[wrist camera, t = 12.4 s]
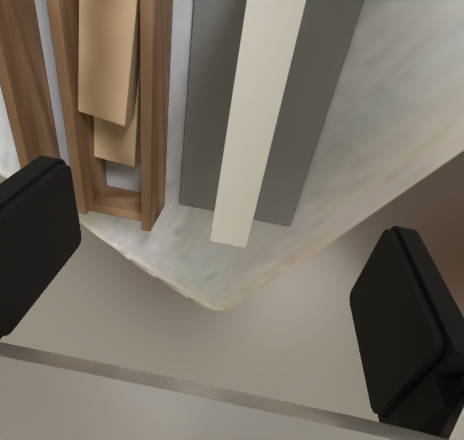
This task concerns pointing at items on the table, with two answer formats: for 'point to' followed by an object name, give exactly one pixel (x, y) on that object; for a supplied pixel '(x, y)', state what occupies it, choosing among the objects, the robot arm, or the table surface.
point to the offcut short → (109, 58)
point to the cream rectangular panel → (254, 113)
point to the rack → (77, 123)
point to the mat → (291, 110)
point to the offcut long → (120, 137)
